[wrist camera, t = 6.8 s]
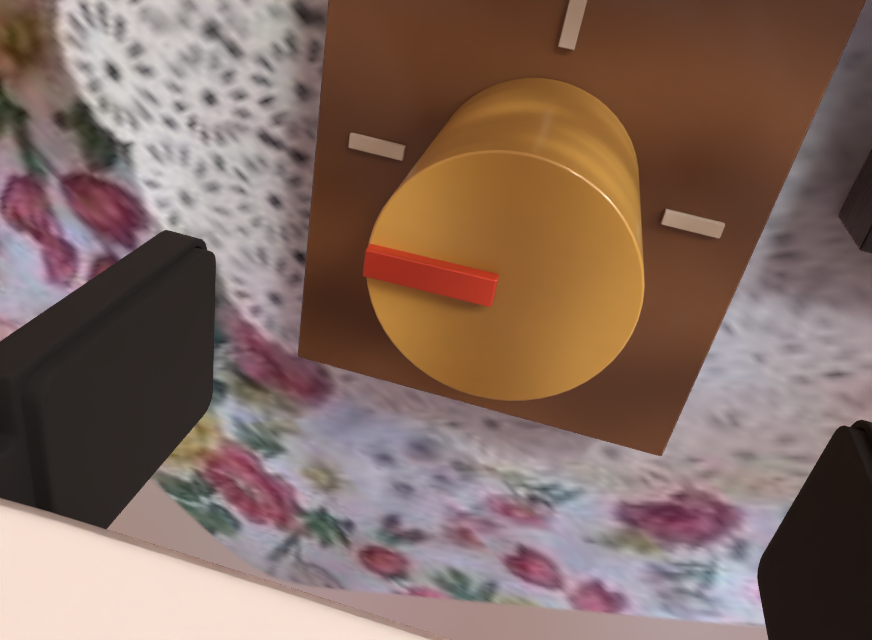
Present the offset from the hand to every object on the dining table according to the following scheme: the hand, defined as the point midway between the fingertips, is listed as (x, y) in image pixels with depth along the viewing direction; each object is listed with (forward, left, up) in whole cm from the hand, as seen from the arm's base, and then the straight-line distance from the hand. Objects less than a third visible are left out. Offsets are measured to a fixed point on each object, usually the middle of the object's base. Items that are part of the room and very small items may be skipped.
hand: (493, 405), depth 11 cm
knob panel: (0, 0, -11) cm, 11 cm away
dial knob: (0, 0, -8) cm, 8 cm away
